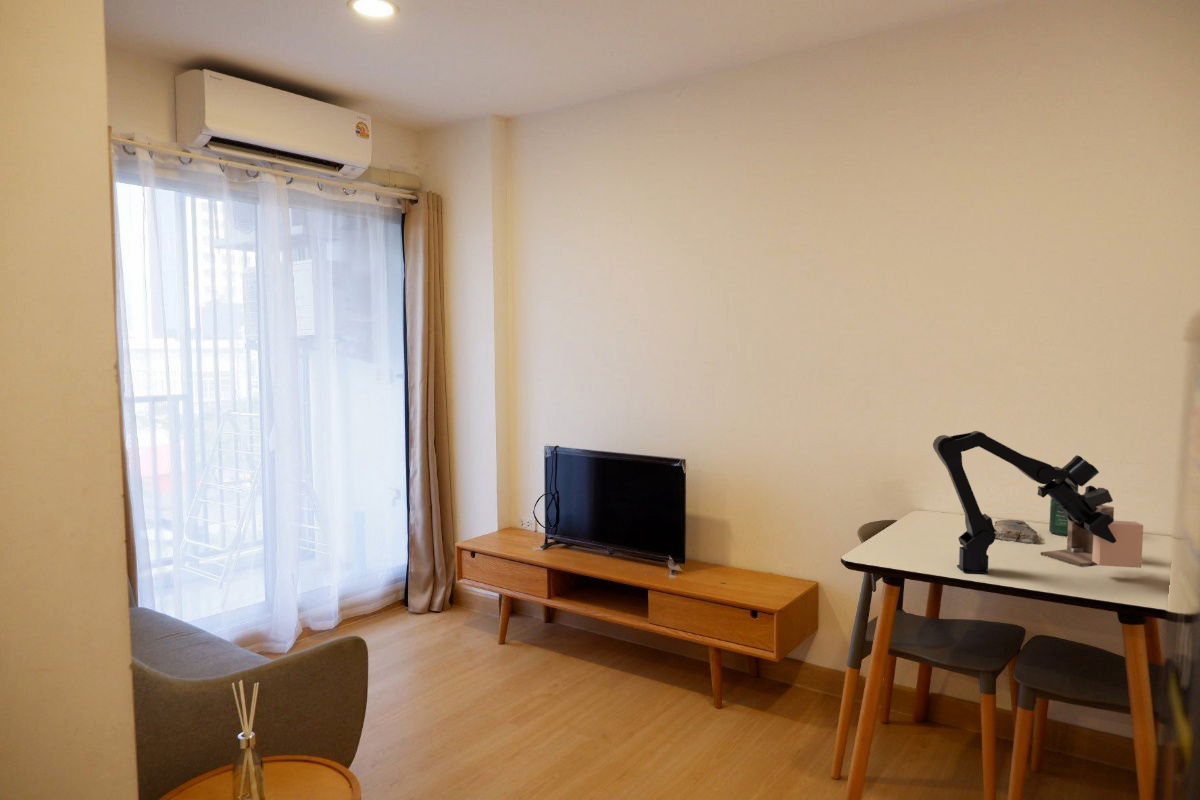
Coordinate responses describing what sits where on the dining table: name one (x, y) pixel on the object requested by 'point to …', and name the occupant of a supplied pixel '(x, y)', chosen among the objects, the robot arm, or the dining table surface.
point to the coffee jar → (1058, 517)
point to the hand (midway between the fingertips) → (1110, 539)
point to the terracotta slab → (1120, 546)
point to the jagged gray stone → (1015, 531)
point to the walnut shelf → (1078, 543)
